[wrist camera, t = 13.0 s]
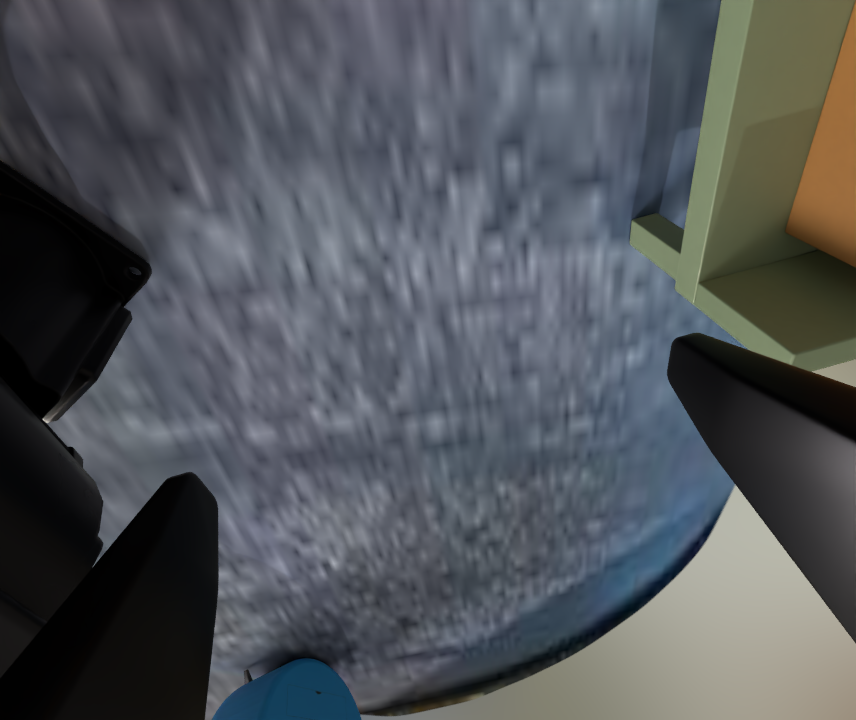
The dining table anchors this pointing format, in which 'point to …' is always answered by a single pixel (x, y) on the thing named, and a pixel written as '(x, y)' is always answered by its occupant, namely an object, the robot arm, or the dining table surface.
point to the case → (832, 166)
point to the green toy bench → (761, 188)
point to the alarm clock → (291, 695)
